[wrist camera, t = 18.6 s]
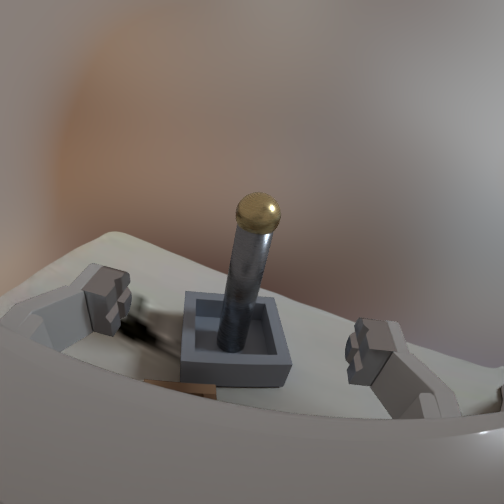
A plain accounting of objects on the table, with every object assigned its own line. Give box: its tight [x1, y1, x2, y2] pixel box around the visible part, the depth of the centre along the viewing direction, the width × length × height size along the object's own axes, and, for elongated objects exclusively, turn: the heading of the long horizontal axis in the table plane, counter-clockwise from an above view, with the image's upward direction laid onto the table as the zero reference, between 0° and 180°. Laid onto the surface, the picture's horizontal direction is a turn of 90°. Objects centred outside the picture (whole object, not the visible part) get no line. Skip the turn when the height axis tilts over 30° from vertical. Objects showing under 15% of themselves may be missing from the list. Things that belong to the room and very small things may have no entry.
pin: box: [216, 192, 281, 353], centre depth 28 cm, size 4×4×16 cm
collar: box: [144, 379, 217, 400], centre depth 22 cm, size 6×6×3 cm
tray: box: [180, 291, 292, 387], centre depth 31 cm, size 10×10×4 cm
